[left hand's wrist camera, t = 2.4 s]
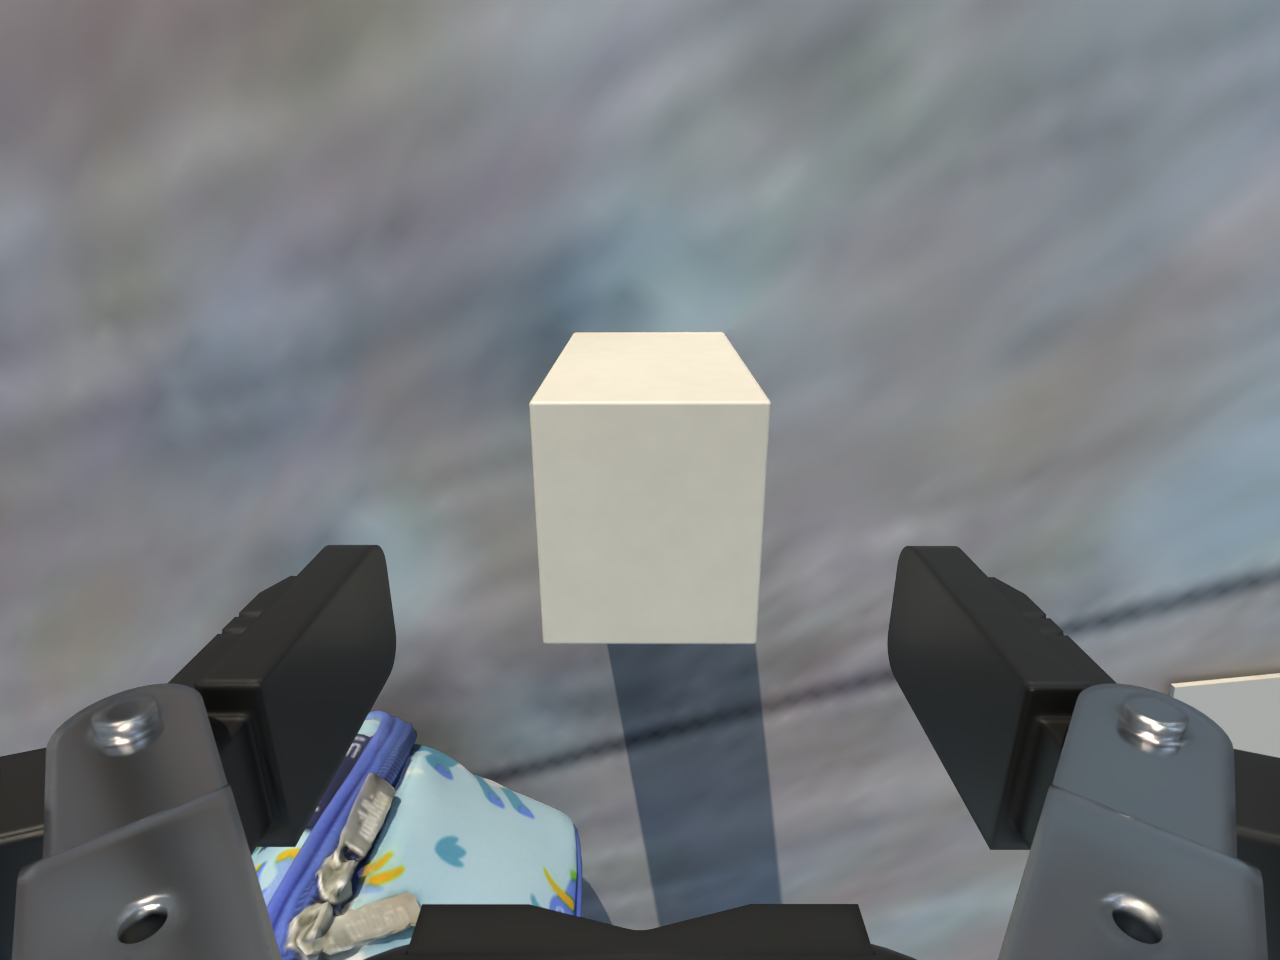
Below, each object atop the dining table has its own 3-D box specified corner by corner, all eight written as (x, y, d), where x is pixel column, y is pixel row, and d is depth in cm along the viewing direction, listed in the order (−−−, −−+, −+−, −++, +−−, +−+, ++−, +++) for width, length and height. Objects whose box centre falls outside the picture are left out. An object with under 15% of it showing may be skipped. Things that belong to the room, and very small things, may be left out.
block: (723, 331, 21) (772, 401, 13) (717, 495, 23) (756, 645, 15) (573, 332, 21) (528, 402, 13) (579, 495, 23) (543, 645, 15)
